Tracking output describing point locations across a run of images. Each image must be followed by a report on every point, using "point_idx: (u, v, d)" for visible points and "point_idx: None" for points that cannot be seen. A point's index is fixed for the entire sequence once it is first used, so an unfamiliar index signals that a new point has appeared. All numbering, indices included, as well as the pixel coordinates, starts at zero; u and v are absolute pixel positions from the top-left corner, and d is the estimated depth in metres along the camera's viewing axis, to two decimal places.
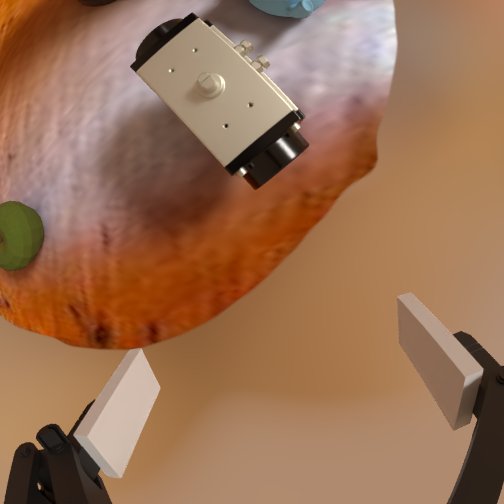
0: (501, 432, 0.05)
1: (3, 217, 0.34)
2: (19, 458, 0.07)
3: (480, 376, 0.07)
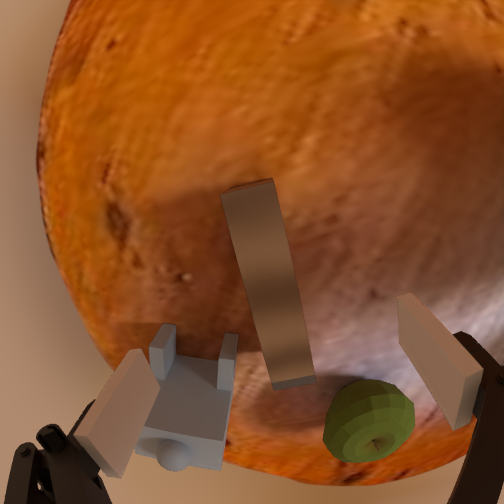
0: (501, 432, 0.05)
1: (404, 423, 0.26)
2: (19, 458, 0.07)
3: (480, 376, 0.07)
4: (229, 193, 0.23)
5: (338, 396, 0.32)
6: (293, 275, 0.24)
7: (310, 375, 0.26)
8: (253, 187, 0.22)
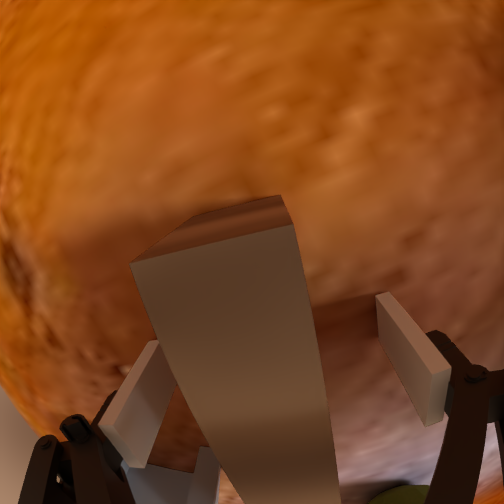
0: (472, 430, 0.06)
1: None
2: (39, 450, 0.08)
3: (449, 374, 0.08)
4: (155, 260, 0.07)
5: None
6: (329, 442, 0.09)
7: None
8: (227, 242, 0.07)
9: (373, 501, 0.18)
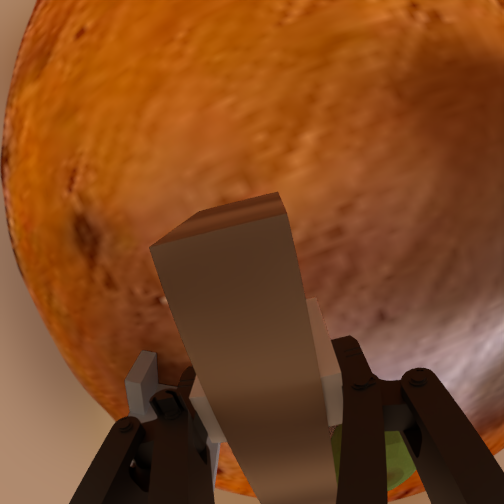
0: (369, 434, 0.07)
1: None
2: (117, 433, 0.09)
3: (340, 378, 0.10)
4: (172, 244, 0.09)
5: (341, 428, 0.27)
6: (322, 411, 0.10)
7: None
8: (232, 229, 0.09)
9: None
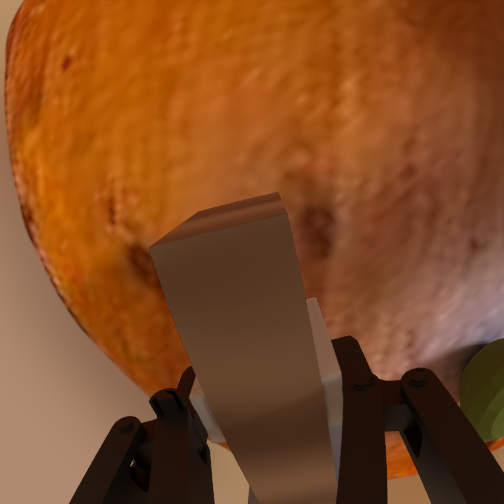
0: (369, 434, 0.07)
1: None
2: (117, 433, 0.09)
3: (340, 378, 0.10)
4: (171, 244, 0.09)
5: (467, 374, 0.23)
6: (322, 412, 0.10)
7: None
8: (232, 229, 0.08)
9: (467, 364, 0.24)
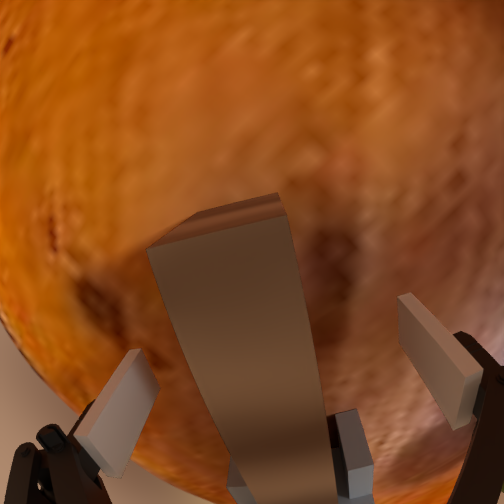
0: (501, 432, 0.05)
1: None
2: (19, 458, 0.07)
3: (480, 376, 0.07)
4: (169, 246, 0.09)
5: None
6: (322, 415, 0.10)
7: None
8: (230, 230, 0.08)
9: None
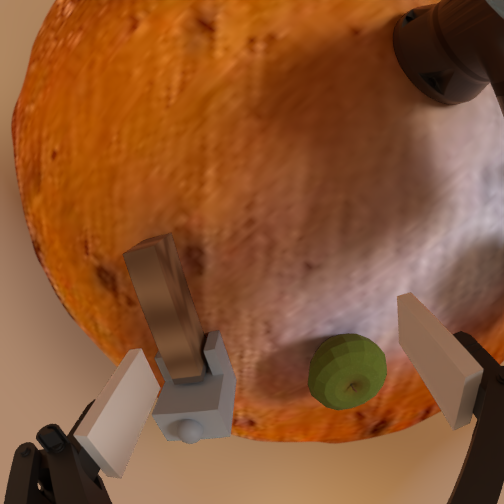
0: (501, 432, 0.05)
1: (370, 363, 0.34)
2: (19, 458, 0.07)
3: (480, 376, 0.07)
4: (128, 253, 0.33)
5: (313, 356, 0.40)
6: (173, 306, 0.34)
7: (197, 375, 0.37)
8: (142, 249, 0.33)
9: None
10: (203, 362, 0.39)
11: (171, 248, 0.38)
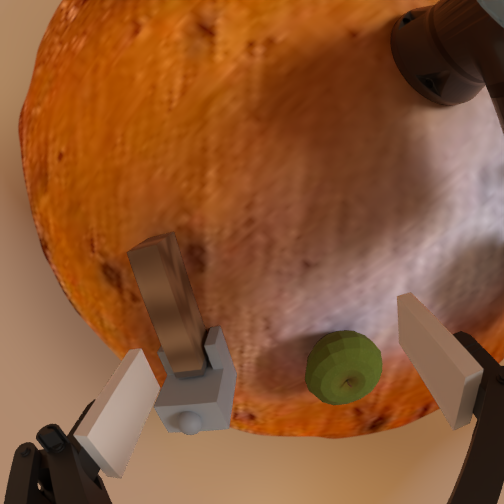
0: (501, 432, 0.05)
1: (365, 360, 0.35)
2: (19, 458, 0.07)
3: (480, 376, 0.07)
4: (132, 251, 0.35)
5: None
6: (174, 302, 0.36)
7: (198, 369, 0.38)
8: (145, 248, 0.34)
9: None
10: (204, 356, 0.41)
11: (173, 246, 0.40)
